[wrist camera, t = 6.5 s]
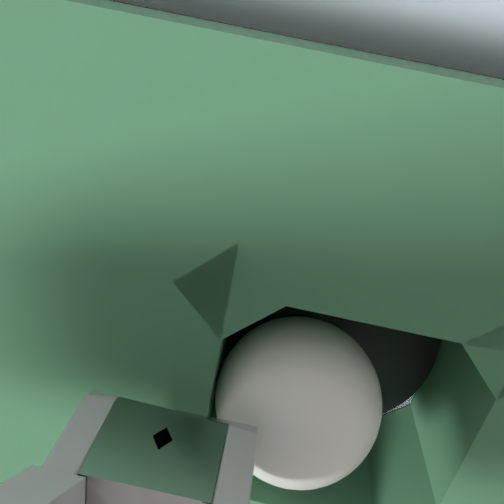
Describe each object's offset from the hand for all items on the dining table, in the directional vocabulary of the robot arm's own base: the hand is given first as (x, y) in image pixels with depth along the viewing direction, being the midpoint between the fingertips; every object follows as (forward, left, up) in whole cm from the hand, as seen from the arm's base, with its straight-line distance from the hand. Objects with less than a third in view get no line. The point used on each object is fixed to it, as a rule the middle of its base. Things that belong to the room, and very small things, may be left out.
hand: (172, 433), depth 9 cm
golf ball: (0, +2, -2) cm, 3 cm away
